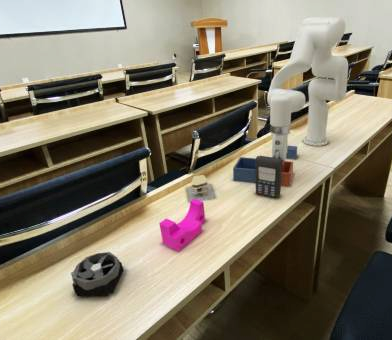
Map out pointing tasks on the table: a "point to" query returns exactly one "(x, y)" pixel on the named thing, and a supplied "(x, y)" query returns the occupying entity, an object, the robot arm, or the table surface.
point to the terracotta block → (283, 165)
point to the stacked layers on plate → (200, 189)
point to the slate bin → (244, 170)
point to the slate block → (291, 152)
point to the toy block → (183, 227)
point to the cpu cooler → (97, 275)
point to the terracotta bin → (287, 174)
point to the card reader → (268, 176)
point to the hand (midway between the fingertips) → (278, 171)
